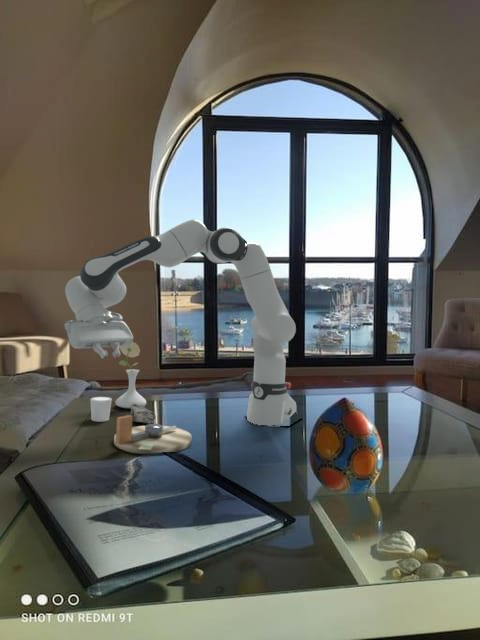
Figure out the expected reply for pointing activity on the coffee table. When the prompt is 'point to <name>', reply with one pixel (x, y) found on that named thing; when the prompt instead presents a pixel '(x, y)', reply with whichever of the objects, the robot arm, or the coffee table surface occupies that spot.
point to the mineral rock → (141, 414)
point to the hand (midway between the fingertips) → (111, 356)
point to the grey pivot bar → (151, 430)
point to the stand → (157, 442)
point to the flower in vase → (130, 379)
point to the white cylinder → (100, 408)
